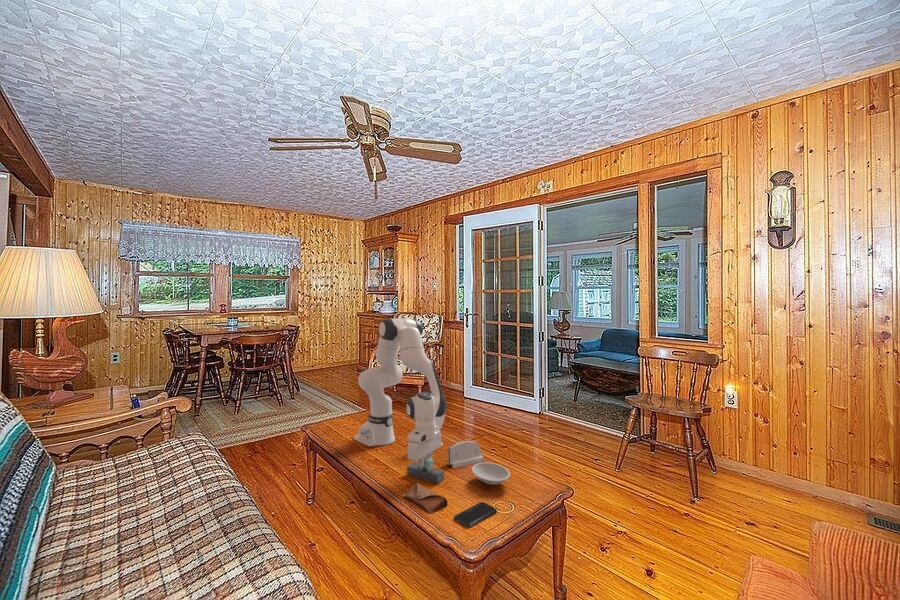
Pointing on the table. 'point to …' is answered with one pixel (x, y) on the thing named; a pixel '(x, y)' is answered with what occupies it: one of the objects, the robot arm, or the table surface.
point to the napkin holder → (464, 454)
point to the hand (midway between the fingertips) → (425, 463)
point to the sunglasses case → (425, 498)
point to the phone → (475, 514)
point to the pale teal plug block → (427, 464)
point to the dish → (491, 473)
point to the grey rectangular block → (425, 473)
